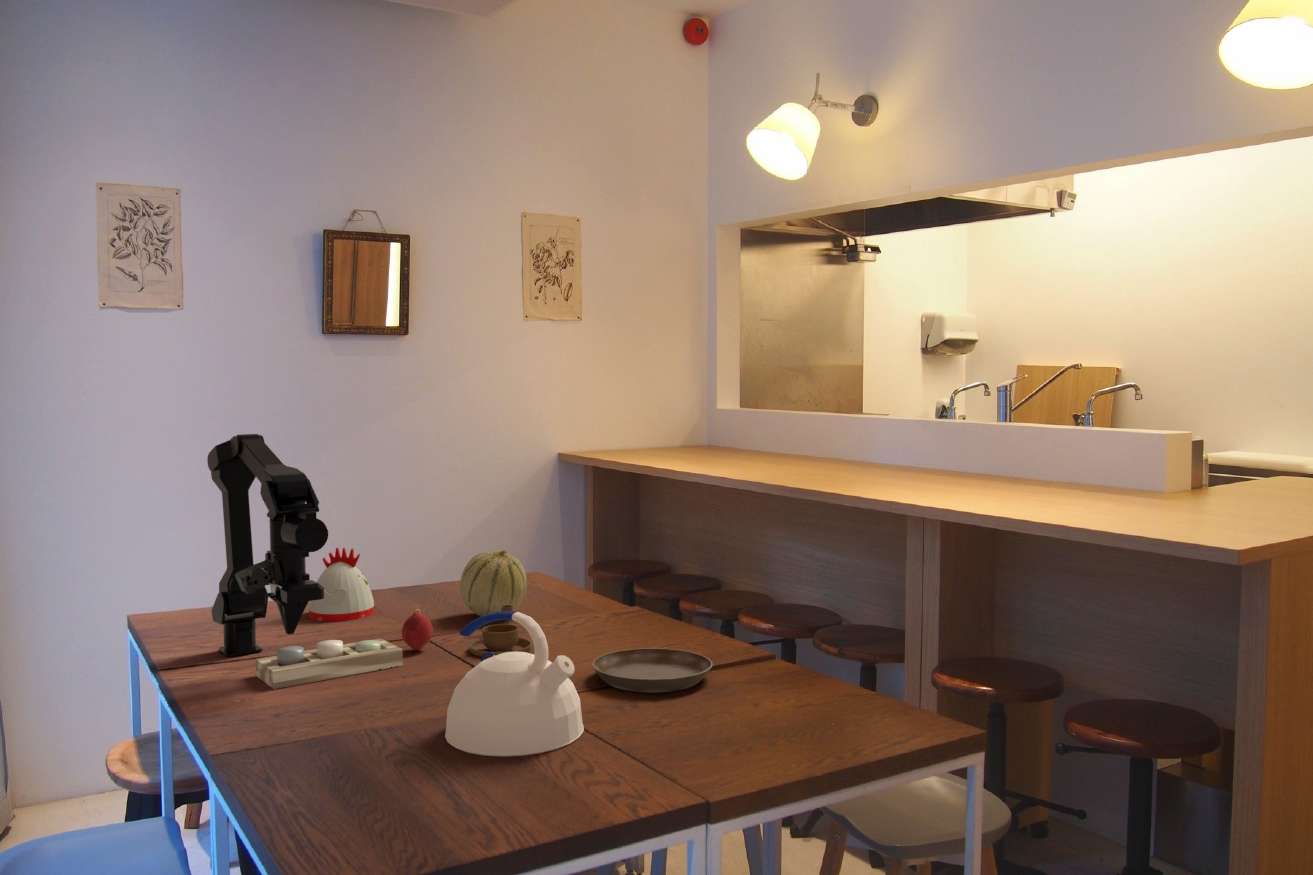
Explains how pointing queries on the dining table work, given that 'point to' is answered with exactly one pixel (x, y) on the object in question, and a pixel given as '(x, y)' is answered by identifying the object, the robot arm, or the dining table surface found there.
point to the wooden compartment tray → (328, 665)
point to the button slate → (290, 655)
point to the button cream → (329, 649)
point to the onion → (417, 630)
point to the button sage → (367, 646)
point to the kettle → (514, 699)
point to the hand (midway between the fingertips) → (289, 633)
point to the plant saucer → (652, 669)
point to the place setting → (500, 638)
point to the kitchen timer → (342, 591)
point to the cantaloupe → (493, 582)
